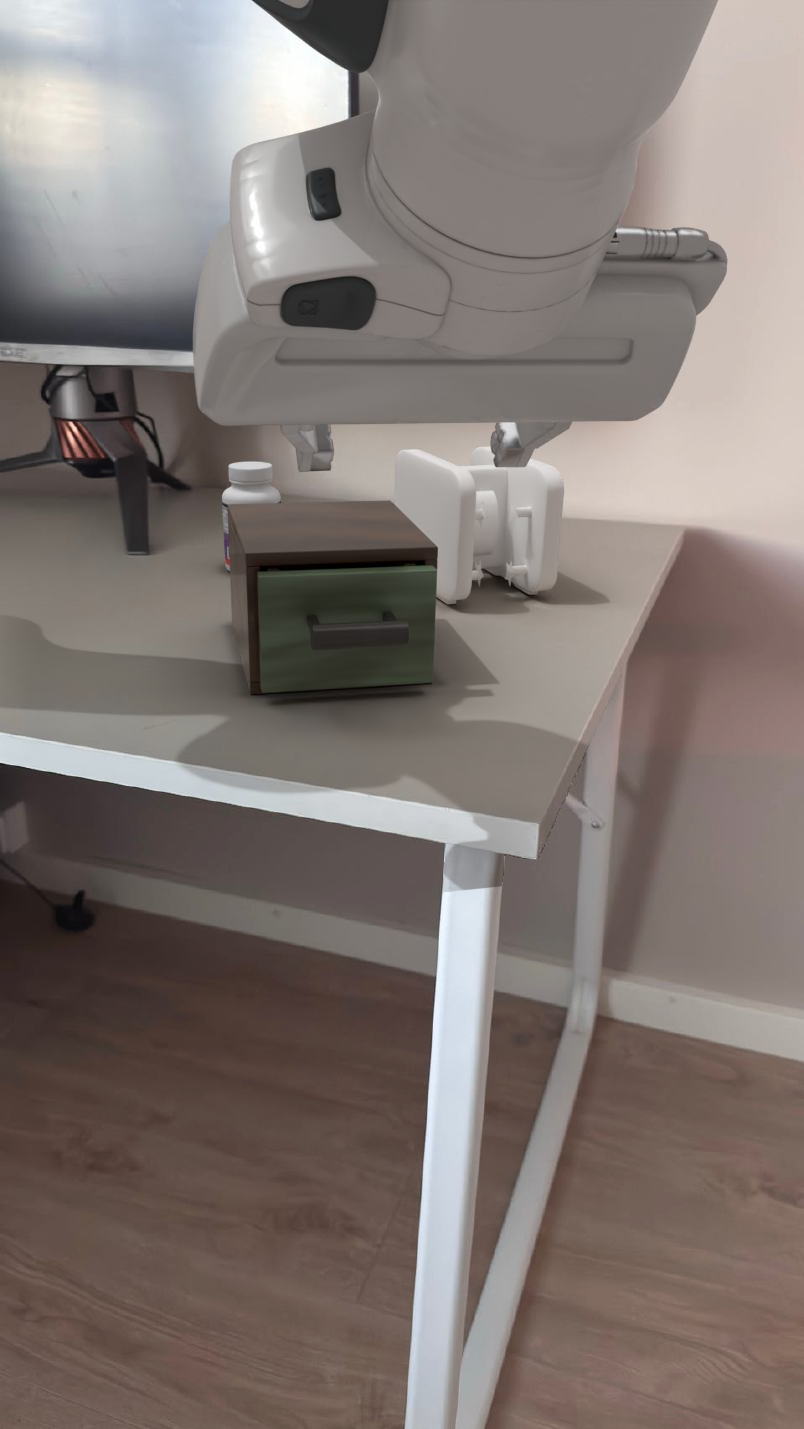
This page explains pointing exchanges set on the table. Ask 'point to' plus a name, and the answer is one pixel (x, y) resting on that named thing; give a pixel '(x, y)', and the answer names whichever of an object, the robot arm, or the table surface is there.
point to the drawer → (346, 625)
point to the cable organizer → (484, 518)
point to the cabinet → (310, 552)
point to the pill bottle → (247, 491)
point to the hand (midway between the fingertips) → (411, 457)
